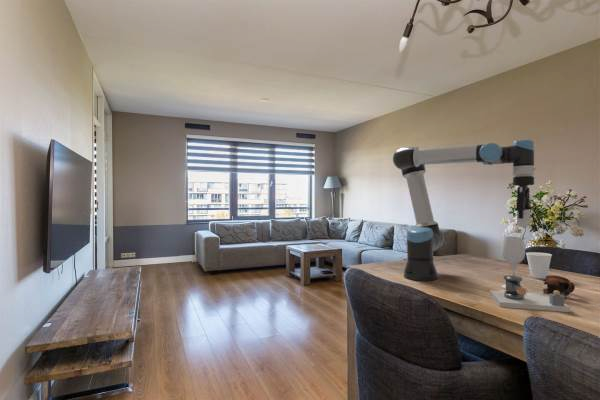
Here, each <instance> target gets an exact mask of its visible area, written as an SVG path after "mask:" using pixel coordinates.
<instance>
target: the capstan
mask: <svg viewBox="0 0 600 400" xmlns="http://www.w3.org/2000/svg"><path fill="white" fill-rule="evenodd" d="M503 279H504V280H505V284H506V289H505V291H506V292H504V296H505V297H507V298H511V299H524V295H526V293H527V288H526V287H525V288H526V289H525V288H523V287H524V286H523V285H521V282H522V281H523V277H522V276H517V275H515V276H512V274H511V275H503ZM522 286H523V287H522Z"/></svg>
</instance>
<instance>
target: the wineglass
mask: <svg viewBox="0 0 600 400" xmlns="http://www.w3.org/2000/svg"><path fill="white" fill-rule="evenodd" d="M525 255H526V248H525V242H524V239H523V237H522V236H521V237H520V236H504V237H503V239H502V242H501V256H502V258H503V259H504V260H505V262H507V263H508V264H510V267H511V276H516V274H515V273H516V271H515V270H516V266H517V264H520V263H521V262H523V260H524V259H525ZM521 286H522V287H523V288H525V289H526V290H527V288H526V287H525V286H523V285H521ZM501 288H502V289H505V290H506V283H504V284H502V285H501Z"/></svg>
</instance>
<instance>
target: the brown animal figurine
mask: <svg viewBox="0 0 600 400" xmlns="http://www.w3.org/2000/svg"><path fill="white" fill-rule="evenodd" d="M542 283H543V285H546V287H547V288H543V289H542V290H543V293H542V294H553V291H555V290H558V291H559V292H560V294H561V295H562V296H564V297H567V296H569V295H570V294H572V292H574V291H575V289H576V287H575V284H574V282H571V280H570V279H568V278H566V277H563V276H561V275H560V276H559V275H554V274H552V275H549V274H548V276H546V279H543V280H542Z"/></svg>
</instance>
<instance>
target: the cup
mask: <svg viewBox="0 0 600 400" xmlns="http://www.w3.org/2000/svg"><path fill="white" fill-rule="evenodd" d="M525 255H526V258H527V263H528V269H529V273H530V277H531V278H533V279H538V280H545V279H546V276H549V270H550V265H551V259H552V257H553V254H551V253H546V252H535V251H533V252H532V251H531V252H525Z"/></svg>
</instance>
